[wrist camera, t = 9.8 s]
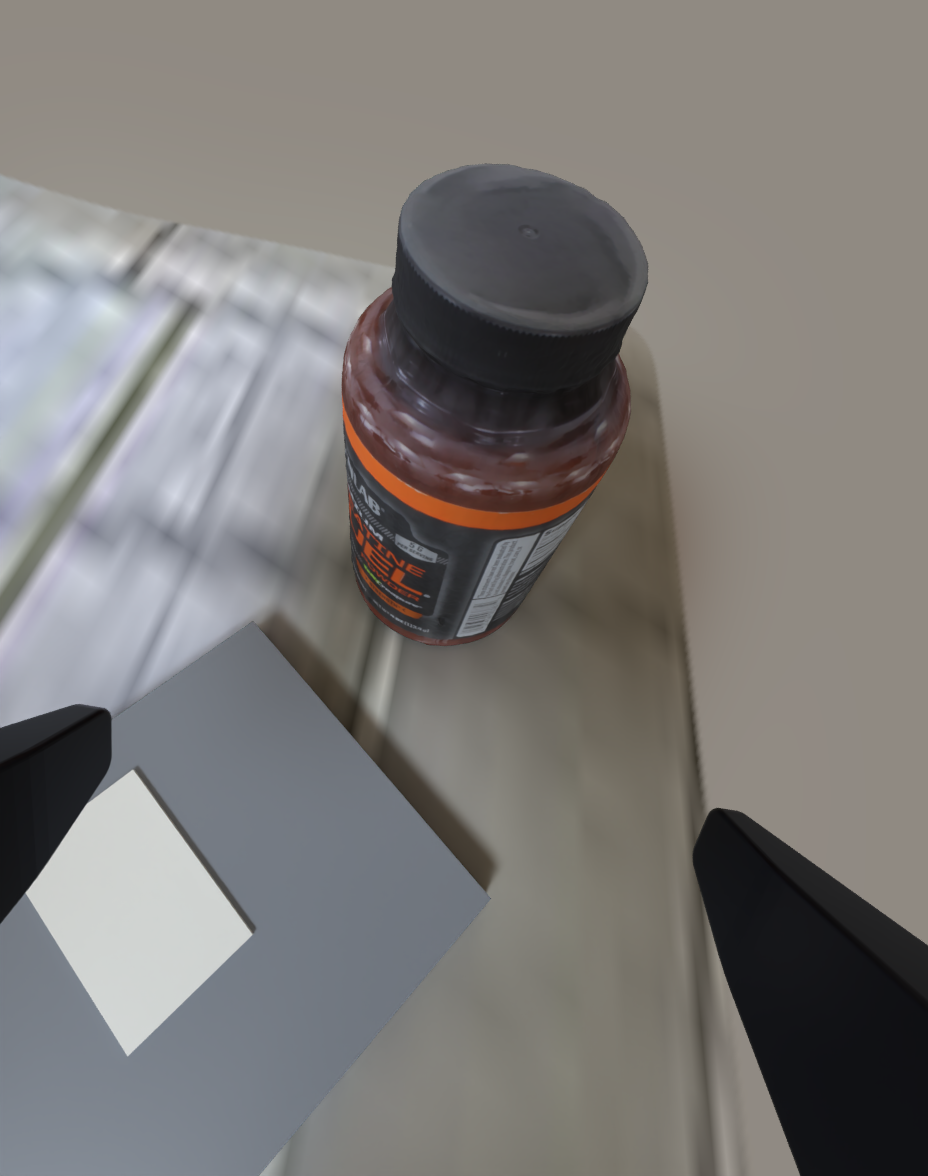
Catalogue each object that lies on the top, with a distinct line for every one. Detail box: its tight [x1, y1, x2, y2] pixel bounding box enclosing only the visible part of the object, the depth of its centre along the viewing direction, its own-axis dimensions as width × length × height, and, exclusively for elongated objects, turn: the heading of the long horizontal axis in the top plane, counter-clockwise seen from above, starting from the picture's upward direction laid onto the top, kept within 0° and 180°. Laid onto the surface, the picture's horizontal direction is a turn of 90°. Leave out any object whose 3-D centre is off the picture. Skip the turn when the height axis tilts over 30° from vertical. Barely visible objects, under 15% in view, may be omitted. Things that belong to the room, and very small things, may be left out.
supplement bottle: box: [342, 164, 648, 646], centre depth 13 cm, size 6×6×11 cm
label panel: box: [0, 621, 491, 1176], centre depth 11 cm, size 10×16×1 cm, turn 134°
